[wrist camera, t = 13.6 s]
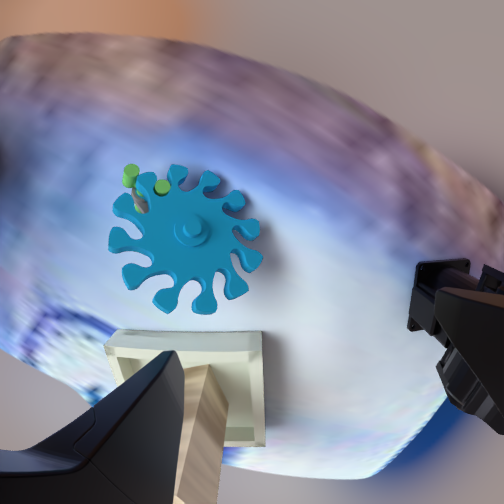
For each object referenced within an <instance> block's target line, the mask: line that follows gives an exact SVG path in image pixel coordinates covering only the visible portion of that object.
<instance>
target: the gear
mask: <svg viewBox="0 0 504 504" xmlns="http://www.w3.org/2000/svg"><path fill="white" fill-rule="evenodd" d="M139 171H140V170H139V167H138V166H137V165H135V164H129V165H127V166H126V167H125V168H124V173H123V180H122V183H123V185H124V186H125V187H127V188H132V193H131V195H130V194H128V193H124V194H122V195H121V196H119V197H118V199H117V200H116V201H115V202H114V204H113V213H114V214H115V215H116V216H117V217H120V218H124V219H127V220H129V221H131V222H132V223H133V224H135V225H136V227H137V228H138V229H139V230H140V231H141V233H142V235H143V237H142V238H141V239H138V240H134V239H132V238H130V237H129V235H128V234H127V233H126V231H125V230H124V229H122V228H120V227H113V228H112V229H111V231H110V235H109V244H108V250H109V251H110V252H112V253H121V252H124V251H135V252H139V253H141V254H144V255H146V256H148V257H149V258H150V259H151V261H152V265H151V266H150V267H147V268H144V267H141V266H139V265H136V264H133V263H130V264H126V265H125V266H124V267H123V268H122V277H123V280H124V283H125V285H126V286H127V288H128V290H135V289H137V288H138V287H139V286H140V285H141V284H142V283H143V282H144V281H145V280H146V279H148V278H150V277H152V276H155V275H162V274H167V275H170V276H171V277H172V278H173V280H174V287H172V288H166V289H161V290H159V291H158V292H157V293H156V295H155V296H154V298H153V301H152V302H153V304H154V305H155V306H156V307H157V308H158V309H160V310H161V311H163V312H165V313H167V314H169V313H170V312H172V311H173V310H174V309H175V308H176V306H177V303H178V296H179V293H180V290H181V288H182V287H183V286H184V285H185V284H186V283H187V282H188V281H190V280H195V281H197V282H199V283H200V285H201V287H202V291H201V294H200V295H199V296H198V297H196V298H195V299H194V300H193V302H192V311H193V312H194V313H197V314H203V315H207V314H212V313H215V312H216V310H217V301H216V299H215V297H214V294H213V288H212V285H213V278H214V275H215V272H221V273H222V274H223V275H224V276H225V279H226V282H225V286H224V295H225V297H226V298H227V299H228V300H232V299H235V298H237V297H239V296H241V295H243V294H245V293H246V292H247V291H249V288H248V285H247V283H246V282H245V281H244V280H243V279H242V278H241V277H240V276H239V275H238V274H237V273H236V271H235V270H234V268H233V265H232V262H231V258H230V253H234V254H236V255H237V256H238V257H239V260H240V264H241V267H242V268H243V270H244V271H246V272H248V273H251V272H252V271H254V270H255V269H257V268H258V267H259V265H260V264H261V262H262V259H263V256H262V254H261V253H260V252H258V251H256V250H252V249H249V248H247V247H245V246H244V245H242V244H241V243H240V242H239V241H238V240H237V239H236V237H235V236H234V235H233V233H232V230H236V231H238V232H239V233H240V234H241V236H242V237H243V238H244V239H246V240H248V241H252V240H254V239H255V238H256V237H258V236H259V233H260V225H259V221H258V220H256V219H253V218H251V219H247V220H239V219H235V218H233V217H230V216H228V215H226V214H225V213H224V212H223V210H222V208H226V209H228V210H230V211H233V212H238V211H240V209H241V208H242V207H243V206H244V205H245V204H246V203H245V200H244V197H243V196H242V194H241V193H240V191H239V190H233V191H232V192H231V193H230V194H229V195H227V196H226V197H223V198H219V199H209V198H207V197H205V196H204V194H203V192H212V191H214V190H215V189H216V187H217V186H218V184H219V183H220V179H219V178H218V177H217V176H216V175H215V174H214V173H212V172H210V171H209V170H207V171H205V172H204V173H203V175H202V176H201V178H200V180H199V184H198V186H197V187H195V188H194V189H192V190H191V191H188V192H185V191H182V190H181V189H180V188H179V187H178V186H179V185H181V184H182V183H183V182H184V181H185V179H186V177H187V175H188V168H186V167H184V166H180V165H174V164H172V165H171V166H170V168H169V171H168V174H167V179H168V181H169V182H168V181H166V180H158V181H157V176H156V174H155V173H154V172H146V173H143V174H140V175H139ZM156 181H157V182H156ZM134 203H135V207H134Z"/></svg>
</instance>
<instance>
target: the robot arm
mask: <svg viewBox="0 0 504 504" xmlns="http://www.w3.org/2000/svg"><path fill="white" fill-rule="evenodd" d="M465 264H466V265H465ZM422 266H423V268H422V270H420V269H421V267H422ZM469 271H470V260H469V259H466V258H463V259H450V260H437V261H424V262H419V263H418V264H417V266H416V272H415V280H414V287H413V289H412V296H411V302H410V309H409V319H408V324H407V328H408V329H409V331H411V332H413V331H419V330H425V331H426V332H427V333H428V334H429V335H430V336H434V337H435V338H436V339H437V340H438V341H439V342H440V343H441V344H442V345H443V346H444V347H445V348H447V350H446V352H445V354H444V355H443V357H442V359H441V361H439V362H438V363H437V365H436V369H437V371H438V373H439V376H440V378H441V381H442V383H443V386H444V389H445V391H446V394H447V396H448V398H449V400H450V402H451V403H452V404H453V405H455V406H456V407H457V408H458V409H459V410H462V411H463V412H465V413H468V414H471V415H476V416H477V417H479V418H480V419H482V420H483V421H484V422H486V423H487V424H488V425H489V426H490V427H491V428H492V429H494V430H495V431H496V432H497V433H498V434H500V435H504V273H503V272H500V271H498V270H496V269H494V268H492V267H489V266H487V265H485V264H484V266H483V268H482V271H483V272H482V274H481V277H480V280H478V279H476V278H474V277H473V276H471V275H469ZM412 325H414V326H413V327H412ZM184 387H185V374H184V370H183V367H182V365H181V362H180V359H179V357H178V354H177V352H176V351H175V350H168V351H163V352H161V353H160V354H159V355H157V356H156V357H155V358H154V359H152V360H151V361H150V362H149V363H147V364H146V365H145V366H144V367H142V368H141V369H140V370H139V371H137V372H136V373H135V374H134V375H132V376H131V377H130V378H129V379H127V380H126V381H125V382H124V383H122V384H121V385H120V386H118V387H117V388H116V389H115V390H113V391H112V392H111V393H110V394H108V395H107V396H106V397H104V398H103V399H102V400H101V401H99V402H98V403H97V404H95V405H94V408H93V407H91V408H90V409H89V410H88V411H86V412H85V413H84V414H82V415H81V416H80V417H78V418H77V419H75V420H74V421H73V422H71V423H70V424H68V425H67V426H65V427H64V428H62V429H61V430H59V431H57V432H56V433H54V434H52V435H51V436H49V437H48V438H46V439H44V440H43V441H41V442H39V443H38V444H36V445H34V446H33V447H31V448H28V449H25V450H21V451H8V450H1V449H0V504H173V499H174V489H175V480H176V472H177V463H178V455H179V448H180V440H181V433H182V426H183V418H184Z"/></svg>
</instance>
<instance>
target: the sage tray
mask: <svg viewBox="0 0 504 504" xmlns="http://www.w3.org/2000/svg"><path fill="white" fill-rule="evenodd" d="M103 346H104V349H105V352H106V355H107V358H108V361H109V364H110V367H111V370H112V373H113V375H114V378H115V381H116V384H117V386H120V385H121V384H122V383H124V382H125V381H126V380H127V379H129V378H130V377H131V376H132V375H134V374H135V373H136V372H137V371H139V370H140V369H141V368H142V367H144V366H145V365H146V364H147V363H149V362H150V361H151V360H152V359H154V358H155V357H156V356H157V355H159V354H160V353H161V352H163V351H168V350H175V351H176V352H177V354H178V357H179V359H180V362H181V365H182V367H183V369H184V368H190V367H195V366H200V365H206V364H209V365H210V367H211V369H212V371H213V373H214V375H215V377H216V379H217V382H218V384H219V386H220V387H221V389H222V391H223V393H224V395H225V397H226V399H227V401H228V403H229V407H228V415H227V423H226V431H225V439H224V447H265V410H264V382H263V356H262V331H244V332H169V331H142V330H124V329H117V330H116V332H115V333H114V334H113V335H112V336H111V337H110V338H109V340H108V341H107V342H106V343H105V344H104V345H103Z"/></svg>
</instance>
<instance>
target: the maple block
mask: <svg viewBox="0 0 504 504" xmlns="http://www.w3.org/2000/svg"><path fill="white" fill-rule="evenodd" d="M183 370H184V374H185V387H184V418H183V426H182V433H181V440H180V448H179V455H178V463H177V472H176V480H175V489H174V499H173V504H217V497H218V496H217V495H218V487H219V480H220V472H221V463H222V455H223V447H224V439H225V431H226V423H227V415H228V407H229V403H228V401H227V399H226V397H225V395H224V393H223V391H222V389H221V387H220V386H219V384H218V382H217V379H216V377H215V375H214V373H213V371H212V369H211V367H210V365H209V364H206V365H200V366H195V367H190V368H184V369H183Z"/></svg>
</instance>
